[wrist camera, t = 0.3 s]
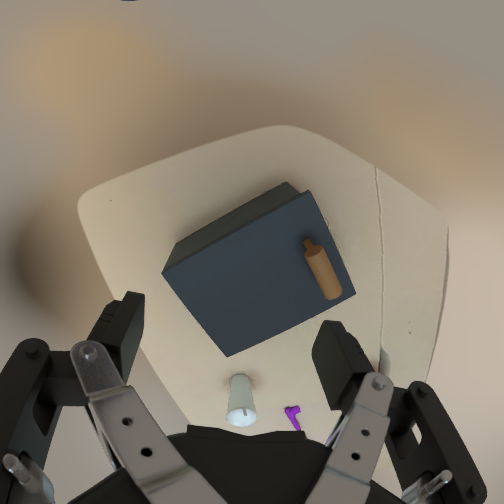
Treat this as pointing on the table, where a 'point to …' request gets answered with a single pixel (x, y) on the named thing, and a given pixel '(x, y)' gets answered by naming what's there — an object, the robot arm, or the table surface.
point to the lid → (263, 276)
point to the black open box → (231, 221)
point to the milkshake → (241, 402)
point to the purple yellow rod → (293, 416)
